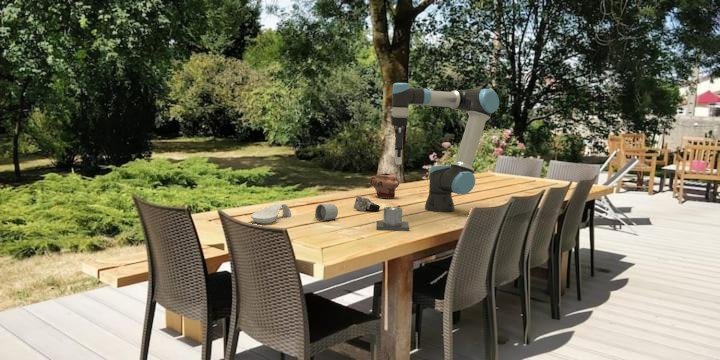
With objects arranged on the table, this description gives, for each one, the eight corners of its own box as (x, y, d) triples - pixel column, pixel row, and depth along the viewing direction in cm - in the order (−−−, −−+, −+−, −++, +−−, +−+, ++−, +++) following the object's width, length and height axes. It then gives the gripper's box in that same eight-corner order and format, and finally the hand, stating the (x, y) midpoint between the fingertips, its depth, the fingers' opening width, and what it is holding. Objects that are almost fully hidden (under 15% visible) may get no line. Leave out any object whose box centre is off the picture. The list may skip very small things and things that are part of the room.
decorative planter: (363, 196, 329) (363, 173, 328) (373, 194, 340) (374, 171, 338) (393, 200, 319) (394, 176, 317) (403, 198, 330) (404, 174, 328)
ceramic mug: (339, 220, 261) (339, 203, 260) (325, 222, 255) (326, 205, 254) (323, 216, 268) (323, 200, 267) (310, 219, 262) (310, 202, 261)
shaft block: (407, 225, 254) (408, 206, 253) (409, 231, 242) (410, 211, 241) (376, 224, 254) (377, 205, 253) (376, 229, 242) (377, 210, 241)
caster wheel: (380, 215, 289) (372, 215, 280) (361, 208, 294) (352, 208, 285) (383, 202, 289) (376, 202, 280) (364, 195, 293) (356, 195, 284)
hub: (401, 222, 252) (401, 207, 251) (402, 226, 244) (402, 210, 243) (383, 221, 252) (383, 206, 251) (383, 225, 244) (384, 209, 243)
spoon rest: (267, 227, 242) (267, 210, 242) (245, 223, 248) (245, 207, 247) (297, 218, 264) (297, 202, 263) (276, 215, 269) (276, 200, 268)
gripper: (390, 116, 273) (389, 159, 276) (392, 117, 248) (390, 165, 251) (406, 116, 273) (404, 160, 276) (409, 117, 248) (407, 165, 251)
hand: (397, 162), depth 263 cm, fingers open, 13 cm apart
